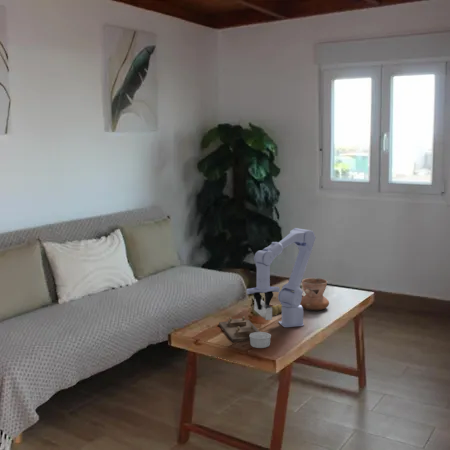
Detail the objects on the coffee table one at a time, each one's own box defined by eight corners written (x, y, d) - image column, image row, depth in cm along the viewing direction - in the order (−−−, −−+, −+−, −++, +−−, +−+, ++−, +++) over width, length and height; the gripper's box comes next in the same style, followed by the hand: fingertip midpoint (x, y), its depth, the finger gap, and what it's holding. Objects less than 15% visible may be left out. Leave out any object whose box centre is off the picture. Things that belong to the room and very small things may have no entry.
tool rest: (248, 322, 279) (248, 312, 278) (264, 339, 256) (264, 328, 255) (218, 324, 275) (218, 315, 275) (232, 342, 252) (232, 331, 252)
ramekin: (244, 345, 249) (244, 335, 248) (259, 340, 255) (259, 330, 255) (260, 350, 243) (260, 340, 242) (275, 345, 249) (275, 335, 248)
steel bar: (254, 309, 271) (254, 298, 270) (260, 309, 271) (260, 298, 271) (265, 320, 255) (265, 308, 255) (272, 319, 256) (272, 308, 255)
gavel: (244, 301, 303) (257, 297, 310) (244, 310, 303) (258, 306, 310) (275, 307, 288) (289, 302, 295) (275, 316, 288) (289, 312, 295)
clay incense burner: (319, 315, 289) (320, 286, 287) (292, 310, 297) (293, 282, 295) (335, 306, 304) (336, 278, 301) (309, 302, 312) (310, 275, 310)
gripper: (249, 281, 255) (249, 312, 257) (282, 279, 259) (281, 310, 261) (245, 277, 262) (244, 308, 264) (276, 275, 266) (276, 305, 268)
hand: (262, 308), depth 263 cm, fingers closed on steel bar, 3 cm apart
